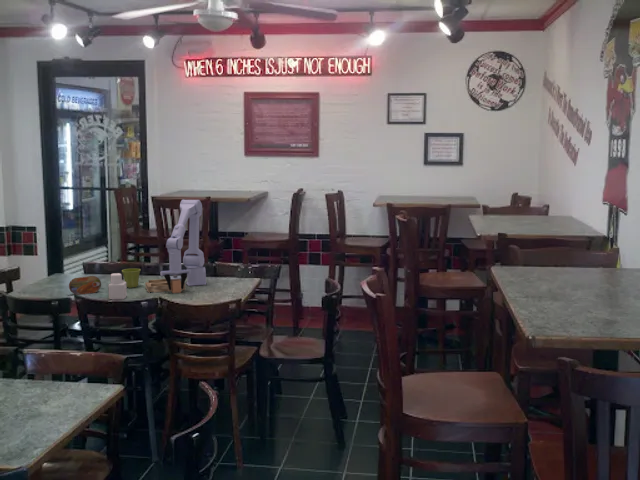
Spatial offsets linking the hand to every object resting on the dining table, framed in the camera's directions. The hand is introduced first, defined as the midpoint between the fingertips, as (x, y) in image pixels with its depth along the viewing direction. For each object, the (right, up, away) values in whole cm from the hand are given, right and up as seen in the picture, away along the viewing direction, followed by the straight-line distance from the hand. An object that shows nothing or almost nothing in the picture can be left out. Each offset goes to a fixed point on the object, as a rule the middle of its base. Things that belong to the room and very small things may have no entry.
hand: (176, 289), depth 348 cm
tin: (-44, -2, -1) cm, 44 cm away
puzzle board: (-7, -1, +7) cm, 10 cm away
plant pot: (-26, 0, +14) cm, 29 cm away
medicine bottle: (-25, -4, -12) cm, 28 cm away
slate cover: (-2, +3, +9) cm, 9 cm away
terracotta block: (0, -1, 0) cm, 2 cm away
